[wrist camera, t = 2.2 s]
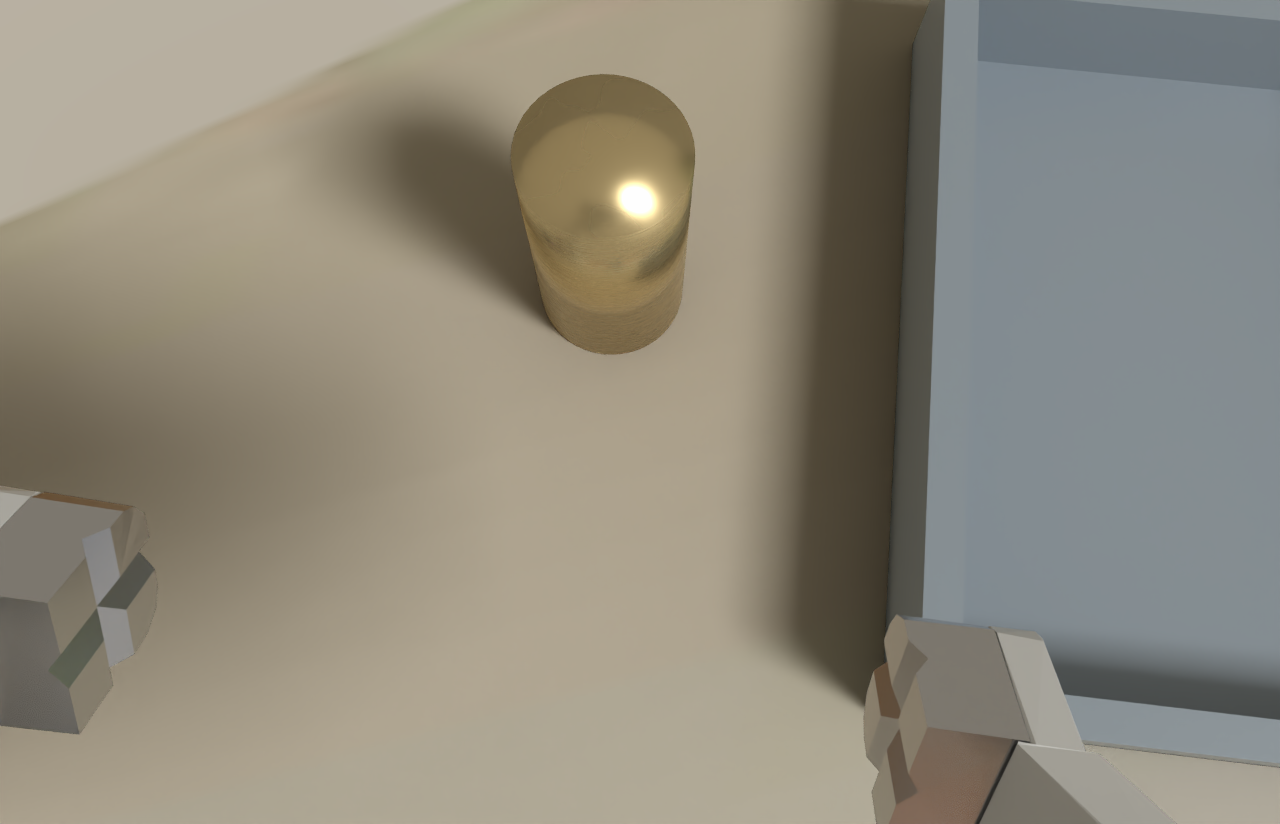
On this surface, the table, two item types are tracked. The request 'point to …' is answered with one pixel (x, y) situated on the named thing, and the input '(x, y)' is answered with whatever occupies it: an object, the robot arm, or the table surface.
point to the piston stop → (606, 208)
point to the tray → (1099, 356)
